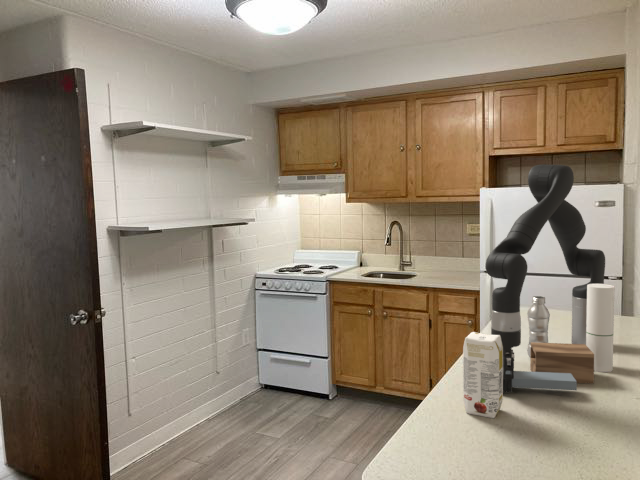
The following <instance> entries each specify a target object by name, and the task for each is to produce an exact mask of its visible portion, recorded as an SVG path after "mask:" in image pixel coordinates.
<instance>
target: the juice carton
mask: <svg viewBox="0 0 640 480" xmlns="http://www.w3.org/2000/svg"><path fill="white" fill-rule="evenodd" d="M462 354H463V355H462V356H463V357H462V359H463V360H462V361H463V362H462V370H463V371H462V373H463V375H462V377H463V379H462V380H463V382H462V383H463V386H462V387H463V389H462V391H463V392H462V393H463V395H462V396H463V397H462V398H463V405H464V409H465V413H466V414H468V415H469V414H470V415H472V416H473V415H475V416H481V417H483V418H489V419H495V418H496V416H497V415H498V413H499V411H500V409H501V407H502V404H503V400H504V399H503V398H504V395H503V393H504V392H503V346H502V341H501V337H500V335H491V334H485V333H480V332H476V331H471V332H470V333H469V334H468V335H467V336H466V337H464V342H463V347H462Z"/></svg>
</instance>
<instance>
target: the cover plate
mask: <svg viewBox="0 0 640 480" xmlns="http://www.w3.org/2000/svg"><path fill="white" fill-rule="evenodd" d="M506 374H510V371H506ZM577 385H578V383H577V381H576V380H575V378H574V377H573V375H572V374H571V373H551V372H531V371H527V370H526V371H525V370H523V371H522V370H514V378H513V379H512V388H519V389H520V388H521V389H538V390H540V389H541V390H556V391H557V390H559V391H560V390H561V391H562V390H563V391H577V387H578V386H577Z"/></svg>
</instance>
